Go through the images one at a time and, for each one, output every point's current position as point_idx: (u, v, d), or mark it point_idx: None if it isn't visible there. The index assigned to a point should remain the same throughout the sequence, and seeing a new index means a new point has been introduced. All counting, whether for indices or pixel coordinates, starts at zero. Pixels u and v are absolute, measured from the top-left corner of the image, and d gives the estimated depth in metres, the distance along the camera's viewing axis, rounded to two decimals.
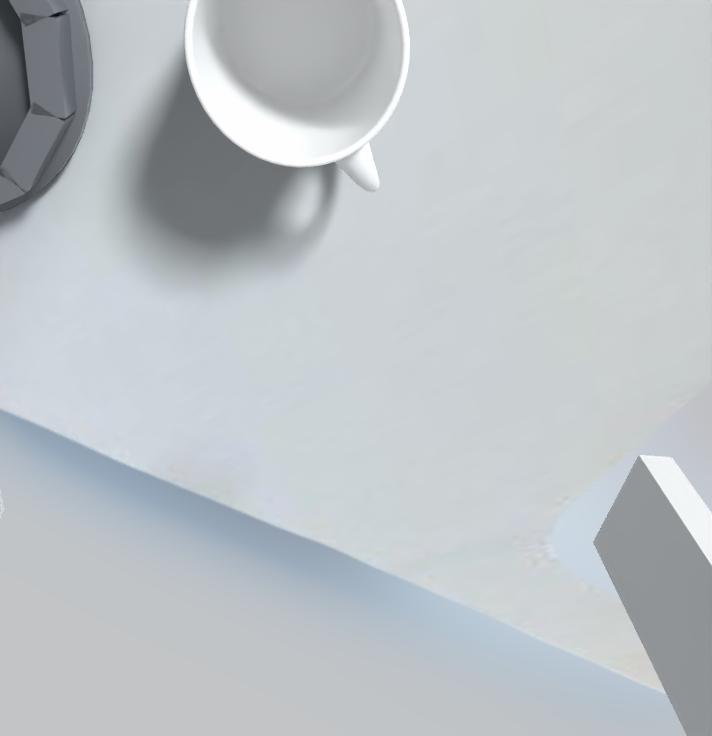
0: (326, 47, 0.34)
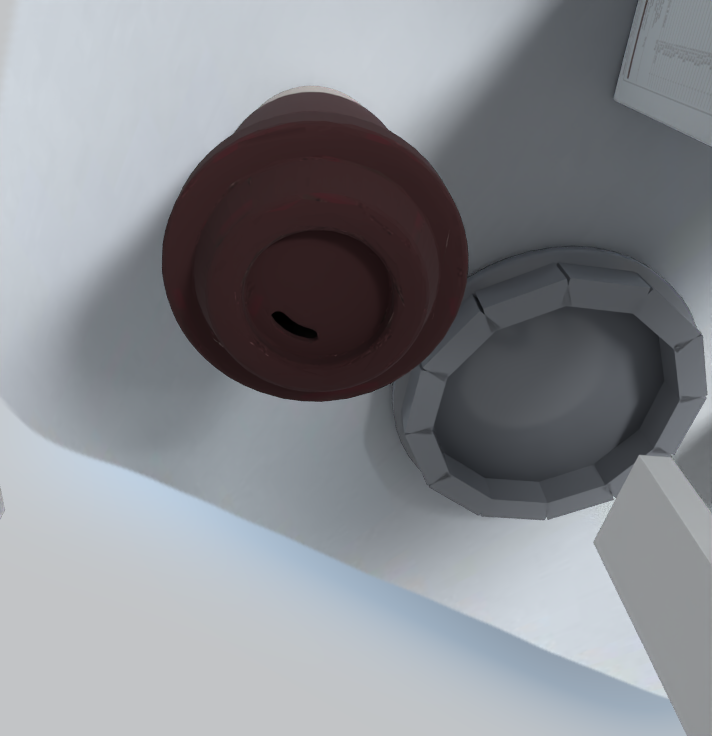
0: None
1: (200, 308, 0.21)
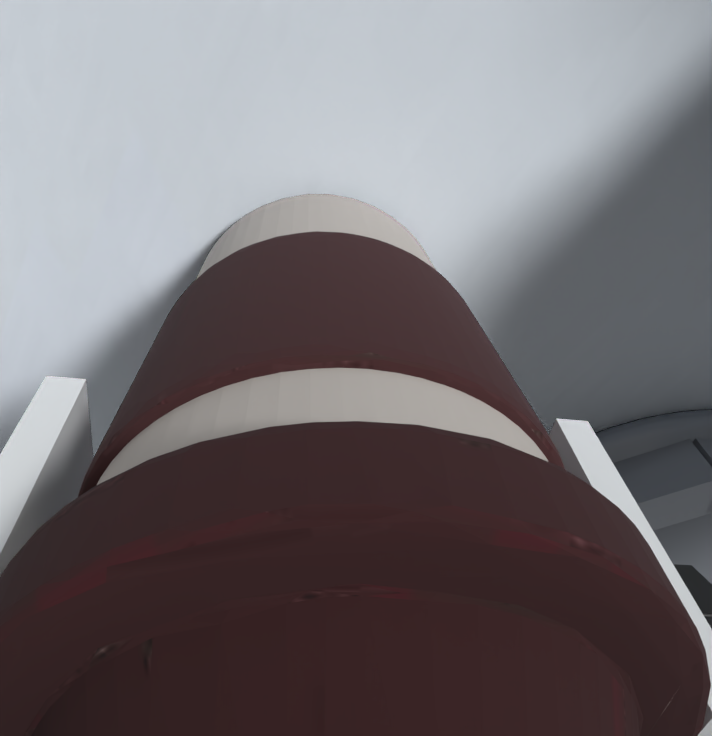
0: None
1: None
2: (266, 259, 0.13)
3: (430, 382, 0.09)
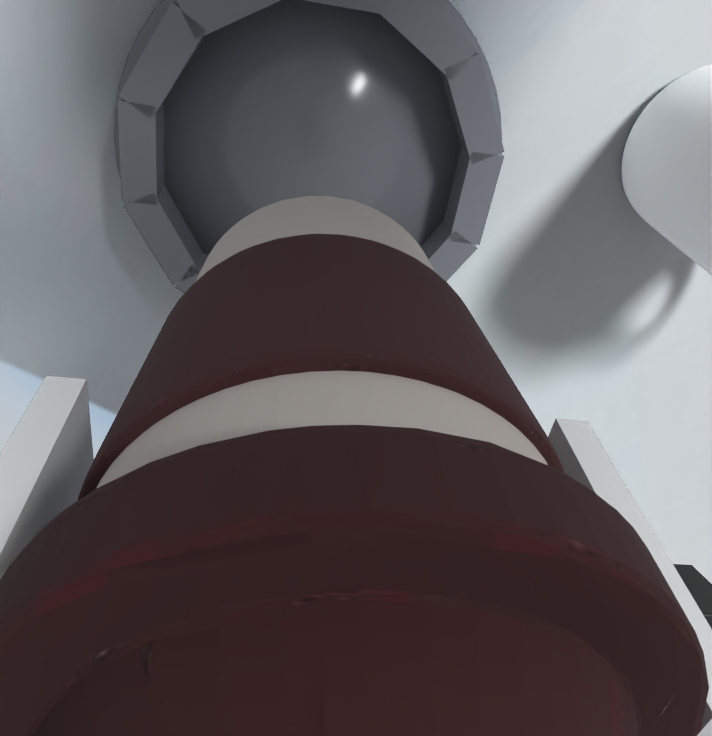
0: None
1: None
2: (266, 261, 0.13)
3: (429, 385, 0.09)
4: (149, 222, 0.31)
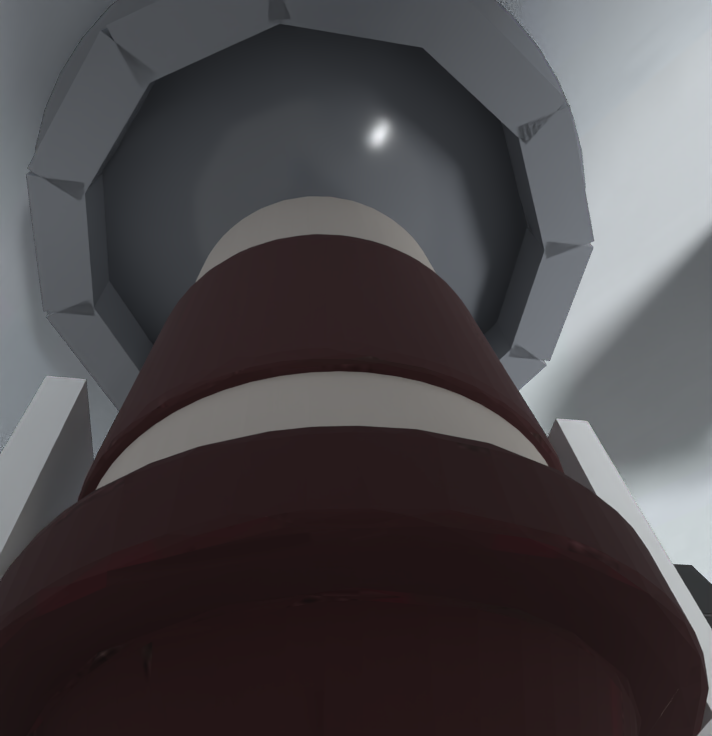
0: None
1: None
2: (266, 262, 0.13)
3: (429, 386, 0.09)
4: (85, 338, 0.22)
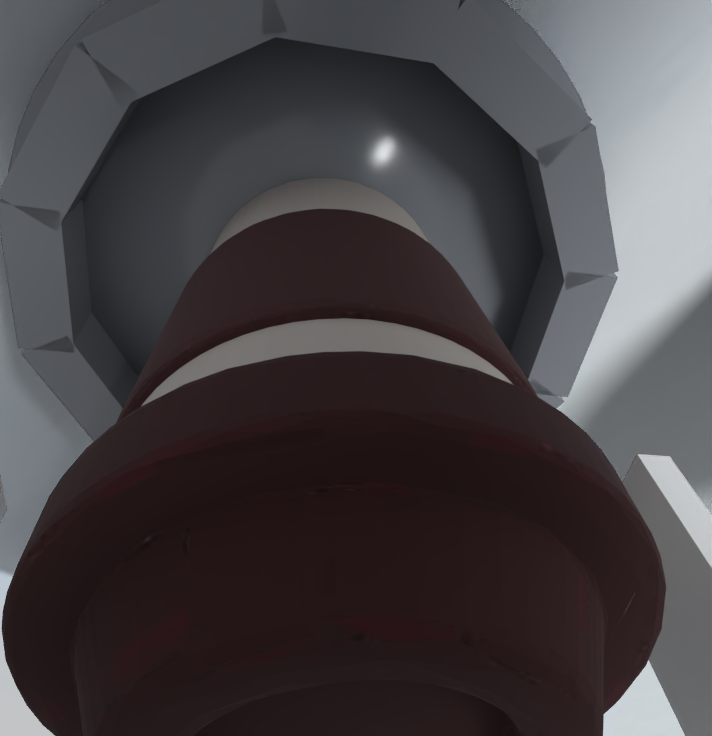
0: None
1: None
2: (277, 232, 0.14)
3: (424, 332, 0.11)
4: (64, 376, 0.20)
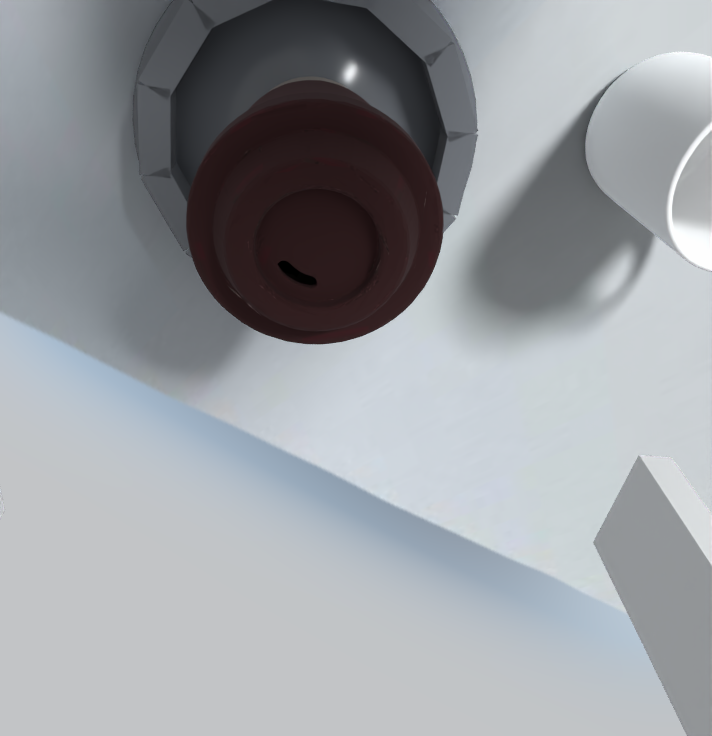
0: None
1: (217, 259, 0.25)
2: (287, 86, 0.29)
3: None
4: (163, 193, 0.35)
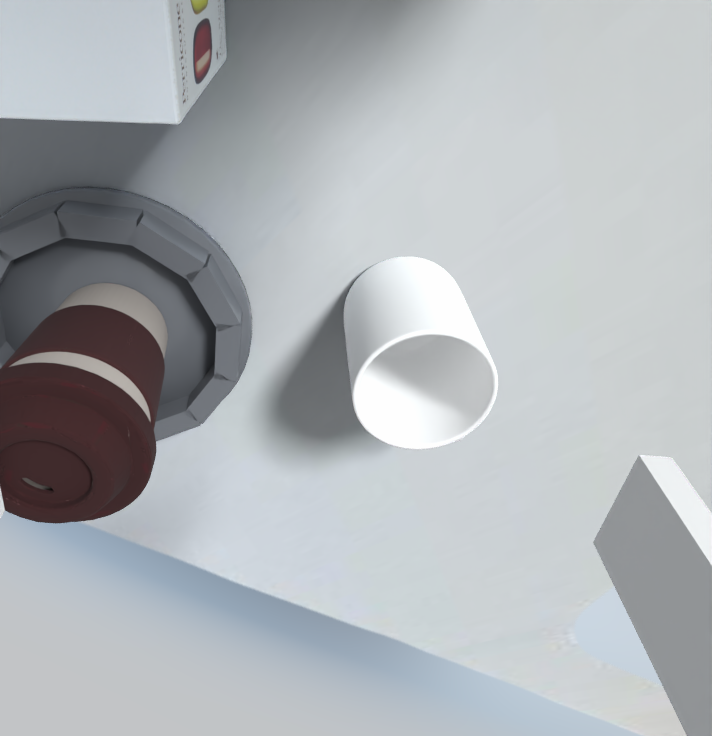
0: None
1: None
2: (59, 316, 0.37)
3: (84, 355, 0.34)
4: None
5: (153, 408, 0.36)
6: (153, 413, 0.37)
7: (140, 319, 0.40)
